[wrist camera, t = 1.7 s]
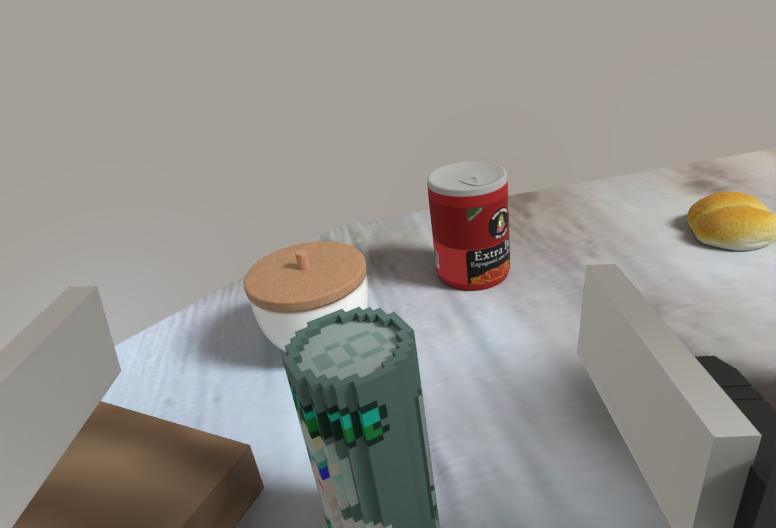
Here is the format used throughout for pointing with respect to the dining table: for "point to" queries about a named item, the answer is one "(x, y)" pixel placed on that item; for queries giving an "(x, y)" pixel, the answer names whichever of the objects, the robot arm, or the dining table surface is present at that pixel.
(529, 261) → the dining table surface
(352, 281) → the lidded jar
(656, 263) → the dining table surface
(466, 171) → the canned food
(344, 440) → the can
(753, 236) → the bread roll
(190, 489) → the walnut base
